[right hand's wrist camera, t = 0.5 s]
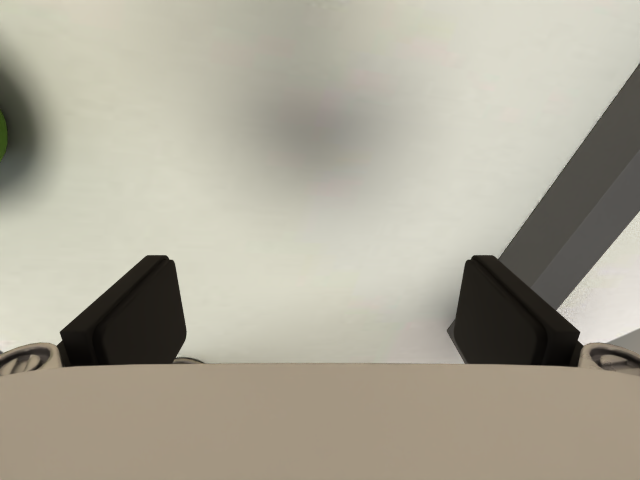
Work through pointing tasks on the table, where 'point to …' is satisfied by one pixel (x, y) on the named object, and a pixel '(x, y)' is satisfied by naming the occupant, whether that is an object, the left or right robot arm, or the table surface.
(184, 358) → the left robot arm
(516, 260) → the beam
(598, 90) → the table surface
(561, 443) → the right robot arm
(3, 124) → the vase
